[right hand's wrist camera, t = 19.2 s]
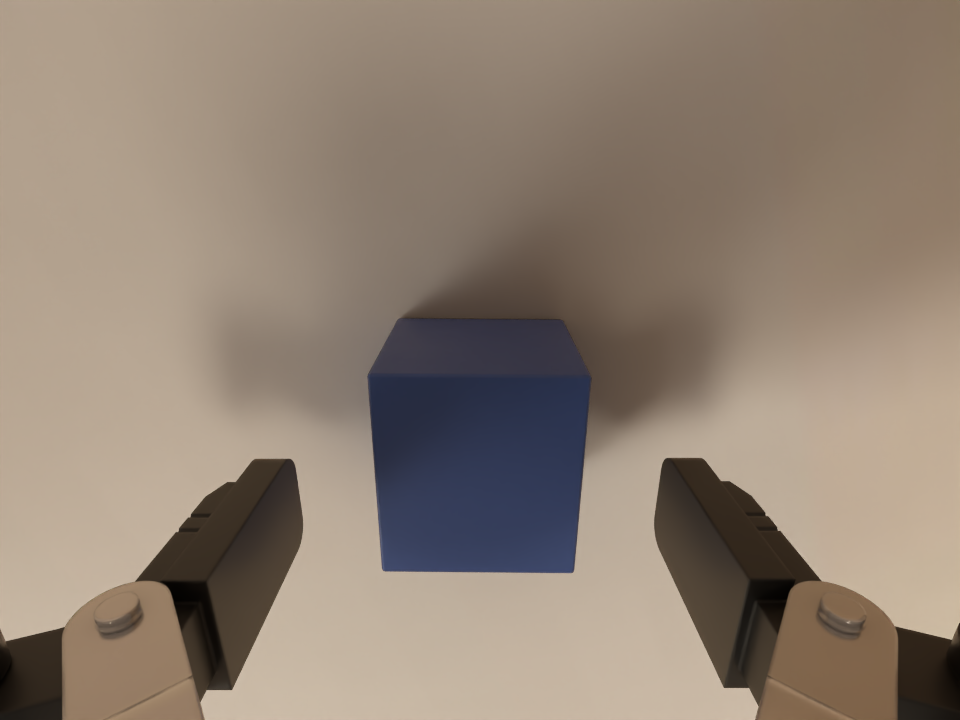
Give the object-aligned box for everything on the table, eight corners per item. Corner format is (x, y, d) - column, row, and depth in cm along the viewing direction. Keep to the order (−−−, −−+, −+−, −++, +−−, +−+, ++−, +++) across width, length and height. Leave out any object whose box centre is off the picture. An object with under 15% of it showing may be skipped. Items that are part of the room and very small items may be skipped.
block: (397, 317, 14) (366, 373, 10) (563, 318, 14) (592, 375, 10) (405, 475, 16) (381, 572, 12) (552, 476, 16) (574, 574, 12)
